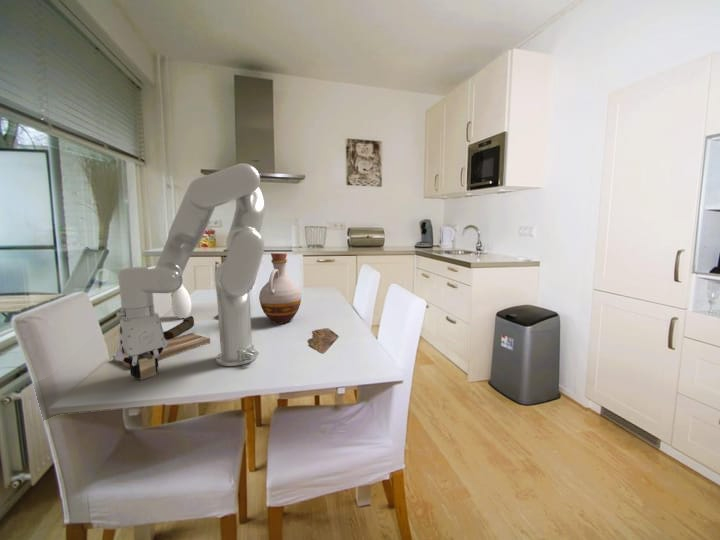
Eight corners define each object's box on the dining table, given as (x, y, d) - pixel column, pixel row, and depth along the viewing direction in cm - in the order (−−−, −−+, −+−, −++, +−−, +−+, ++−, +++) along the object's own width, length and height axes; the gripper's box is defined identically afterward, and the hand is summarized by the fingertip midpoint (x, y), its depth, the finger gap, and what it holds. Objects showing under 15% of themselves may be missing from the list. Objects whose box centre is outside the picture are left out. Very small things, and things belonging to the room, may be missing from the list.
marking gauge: (160, 376, 97) (157, 352, 96) (145, 382, 94) (142, 356, 93) (145, 370, 101) (143, 346, 100) (130, 375, 98) (128, 350, 97)
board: (210, 342, 124) (210, 338, 123) (132, 369, 102) (131, 364, 102) (191, 336, 130) (190, 332, 130) (113, 360, 108) (112, 355, 108)
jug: (292, 329, 138) (289, 255, 133) (251, 327, 140) (247, 255, 136) (307, 315, 157) (305, 250, 152) (270, 314, 160) (267, 250, 155)
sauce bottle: (173, 321, 148) (170, 281, 146) (172, 317, 155) (168, 278, 152) (193, 319, 153) (190, 279, 150) (191, 314, 159) (188, 276, 156)
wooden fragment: (313, 329, 139) (313, 326, 139) (340, 329, 139) (340, 326, 139) (302, 354, 114) (302, 351, 113) (335, 354, 113) (335, 351, 113)
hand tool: (172, 341, 125) (171, 329, 125) (162, 341, 126) (161, 329, 125) (200, 325, 144) (199, 315, 143) (191, 325, 144) (190, 314, 144)
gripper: (110, 321, 86) (118, 389, 89) (176, 307, 100) (181, 366, 102) (97, 317, 90) (105, 382, 92) (162, 303, 104) (167, 360, 106)
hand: (145, 373), depth 97 cm, fingers closed on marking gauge, 4 cm apart
